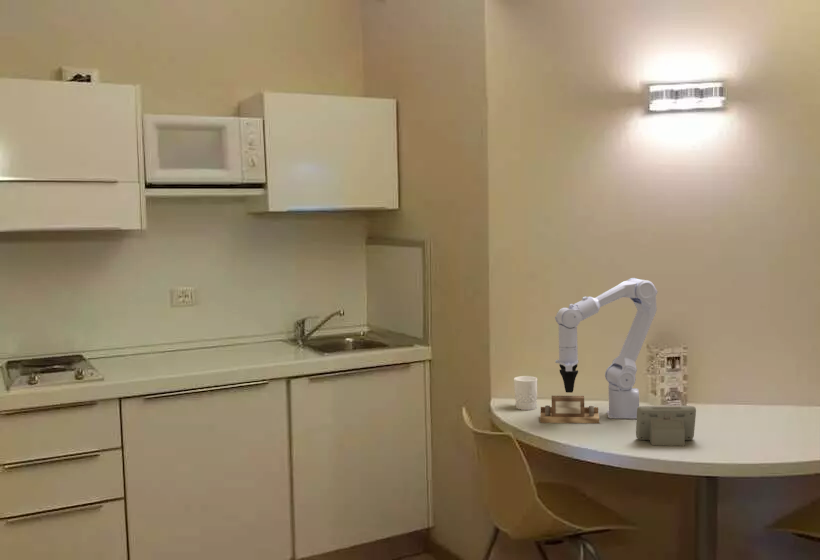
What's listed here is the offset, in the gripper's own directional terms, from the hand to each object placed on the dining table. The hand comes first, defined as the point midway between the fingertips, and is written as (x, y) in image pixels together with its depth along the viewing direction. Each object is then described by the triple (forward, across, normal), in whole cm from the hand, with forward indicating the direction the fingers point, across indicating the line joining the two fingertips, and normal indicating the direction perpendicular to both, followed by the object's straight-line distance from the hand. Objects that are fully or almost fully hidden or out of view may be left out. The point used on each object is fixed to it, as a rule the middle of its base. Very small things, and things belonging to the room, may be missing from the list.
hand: (569, 389), depth 250 cm
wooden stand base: (+10, 0, 0) cm, 10 cm away
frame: (+8, 0, 0) cm, 8 cm away
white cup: (+10, -15, -14) cm, 23 cm away
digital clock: (+10, +21, +26) cm, 35 cm away
